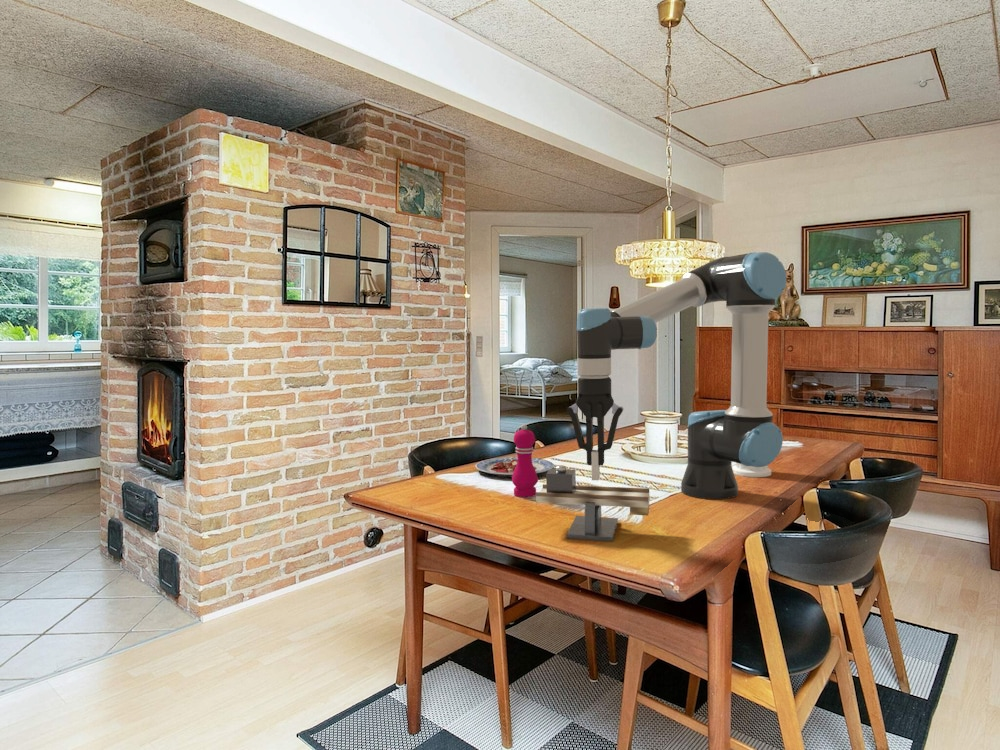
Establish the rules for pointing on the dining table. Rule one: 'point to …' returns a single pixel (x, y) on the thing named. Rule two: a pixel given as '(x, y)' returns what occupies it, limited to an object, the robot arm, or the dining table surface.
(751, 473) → the decorative container
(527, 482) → the pepper mill
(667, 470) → the dining table surface
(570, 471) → the block
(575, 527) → the stand
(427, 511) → the dining table surface
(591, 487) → the beam
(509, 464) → the ceramic plate
